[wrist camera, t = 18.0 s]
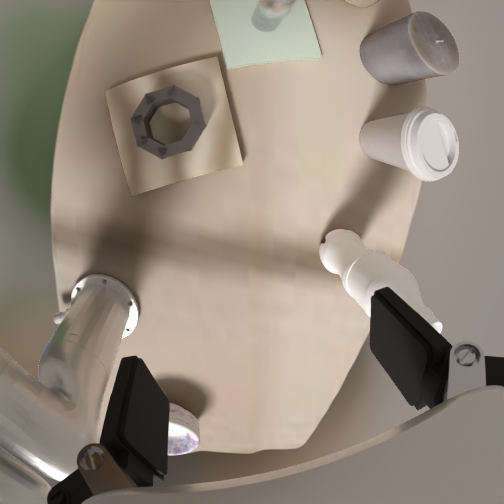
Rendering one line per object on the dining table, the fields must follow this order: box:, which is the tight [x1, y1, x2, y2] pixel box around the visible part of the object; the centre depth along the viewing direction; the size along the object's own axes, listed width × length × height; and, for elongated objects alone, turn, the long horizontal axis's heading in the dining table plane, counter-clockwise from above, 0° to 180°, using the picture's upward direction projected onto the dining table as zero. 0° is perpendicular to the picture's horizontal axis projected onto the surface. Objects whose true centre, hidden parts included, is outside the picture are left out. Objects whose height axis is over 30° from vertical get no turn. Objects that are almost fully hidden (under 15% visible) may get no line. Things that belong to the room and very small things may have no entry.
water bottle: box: [319, 229, 442, 333], centre depth 34 cm, size 7×7×25 cm
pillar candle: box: [360, 12, 459, 85], centre depth 28 cm, size 10×10×15 cm
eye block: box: [105, 57, 243, 197], centre depth 33 cm, size 16×16×6 cm
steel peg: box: [251, 0, 296, 32], centre depth 24 cm, size 4×4×13 cm
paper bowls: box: [168, 402, 200, 455], centre depth 51 cm, size 15×15×8 cm
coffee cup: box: [359, 107, 459, 181], centre depth 33 cm, size 10×10×15 cm
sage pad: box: [209, 0, 322, 70], centre depth 31 cm, size 14×14×1 cm
